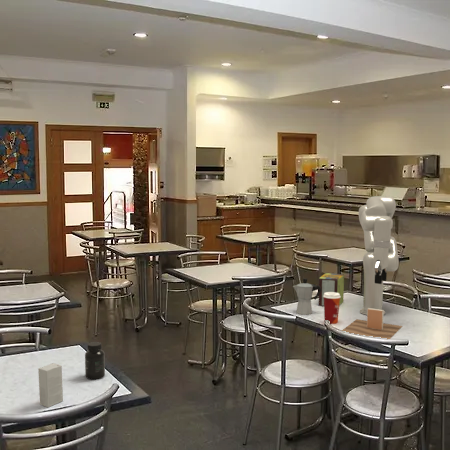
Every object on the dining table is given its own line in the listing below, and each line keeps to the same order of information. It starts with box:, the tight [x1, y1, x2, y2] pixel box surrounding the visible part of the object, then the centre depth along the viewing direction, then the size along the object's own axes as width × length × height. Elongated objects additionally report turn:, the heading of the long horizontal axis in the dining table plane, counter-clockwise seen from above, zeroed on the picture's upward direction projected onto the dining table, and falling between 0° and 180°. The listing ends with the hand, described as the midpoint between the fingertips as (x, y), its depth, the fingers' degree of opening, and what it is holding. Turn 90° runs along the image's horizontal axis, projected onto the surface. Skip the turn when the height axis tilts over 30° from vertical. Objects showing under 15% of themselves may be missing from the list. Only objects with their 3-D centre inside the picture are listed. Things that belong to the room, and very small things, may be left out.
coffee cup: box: [323, 292, 340, 325], centre depth 269 cm, size 8×8×15 cm
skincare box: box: [37, 362, 64, 408], centre depth 179 cm, size 6×4×12 cm
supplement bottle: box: [84, 341, 106, 381], centre depth 201 cm, size 7×7×12 cm
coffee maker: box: [292, 277, 322, 316], centre depth 289 cm, size 15×9×18 cm, turn 83°
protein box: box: [318, 272, 345, 307], centre depth 308 cm, size 10×15×16 cm
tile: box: [366, 308, 385, 330], centre depth 258 cm, size 2×7×9 cm, turn 59°
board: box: [341, 318, 403, 340], centre depth 258 cm, size 24×22×1 cm
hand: (380, 281), depth 262 cm, fingers open, 7 cm apart
